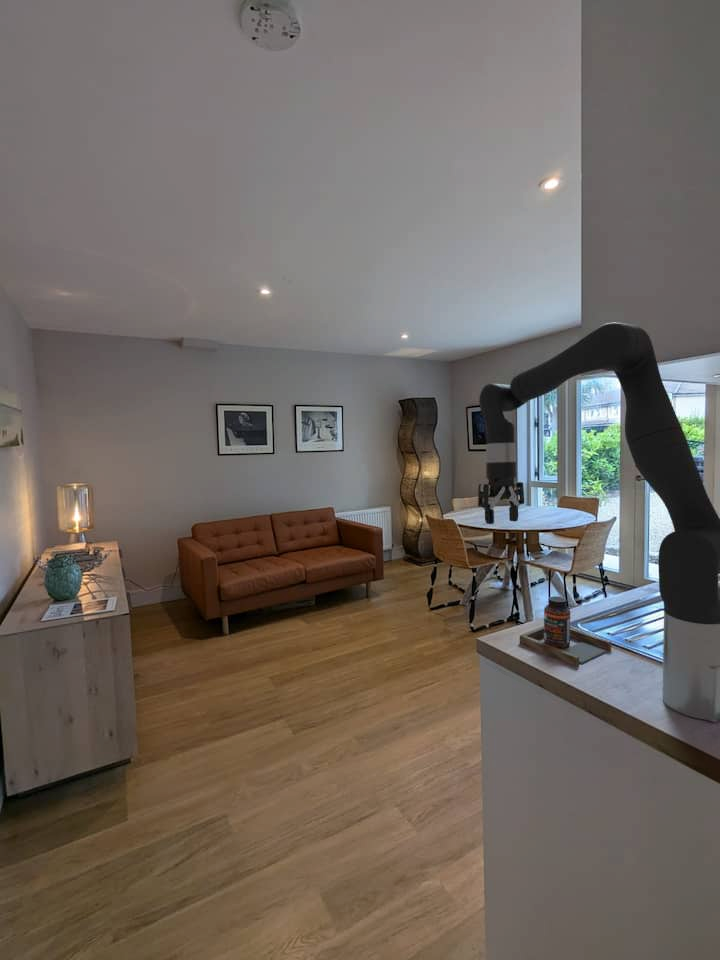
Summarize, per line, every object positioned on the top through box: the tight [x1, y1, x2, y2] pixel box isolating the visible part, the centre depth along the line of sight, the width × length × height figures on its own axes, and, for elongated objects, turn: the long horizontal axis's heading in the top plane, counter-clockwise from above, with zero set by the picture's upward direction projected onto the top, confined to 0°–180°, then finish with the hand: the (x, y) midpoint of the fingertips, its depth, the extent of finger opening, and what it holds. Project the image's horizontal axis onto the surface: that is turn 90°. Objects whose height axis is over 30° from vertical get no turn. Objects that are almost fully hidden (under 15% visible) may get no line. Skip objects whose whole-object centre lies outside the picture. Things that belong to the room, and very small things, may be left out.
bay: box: [519, 625, 612, 668], centre depth 110 cm, size 15×14×2 cm
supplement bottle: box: [543, 595, 571, 649], centre depth 112 cm, size 6×6×11 cm
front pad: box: [563, 641, 608, 665], centre depth 107 cm, size 6×10×1 cm, turn 122°
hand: (502, 522), depth 120 cm, fingers open, 8 cm apart
